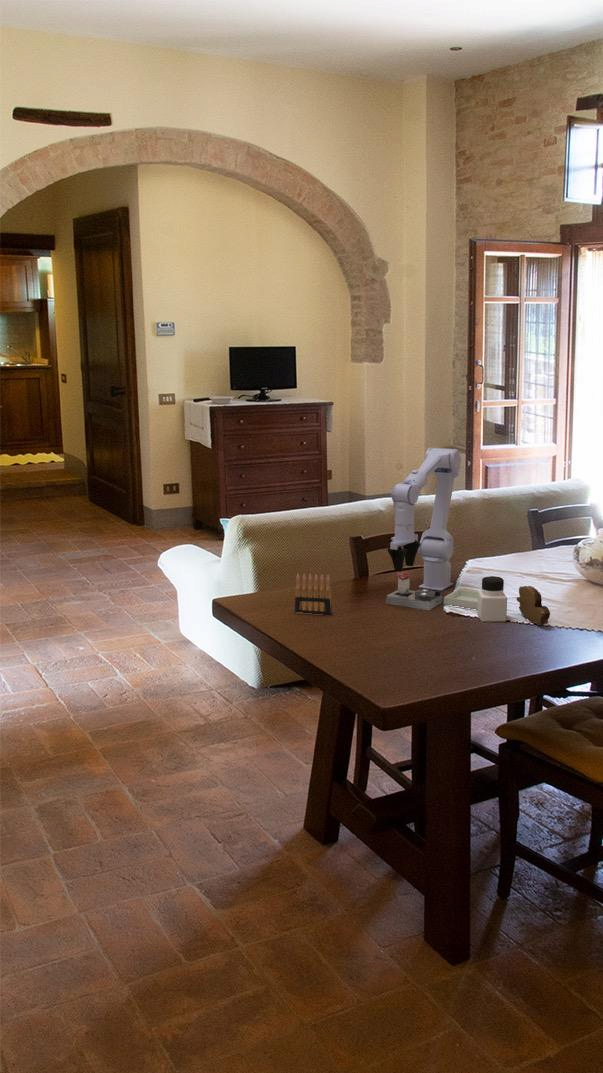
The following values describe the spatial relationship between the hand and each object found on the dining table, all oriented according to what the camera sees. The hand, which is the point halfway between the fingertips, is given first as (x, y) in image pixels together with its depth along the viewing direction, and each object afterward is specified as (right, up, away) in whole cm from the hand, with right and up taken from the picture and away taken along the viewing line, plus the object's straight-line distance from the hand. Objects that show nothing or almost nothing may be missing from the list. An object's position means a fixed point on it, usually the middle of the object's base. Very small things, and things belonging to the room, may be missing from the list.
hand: (404, 568), depth 295 cm
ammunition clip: (-27, -13, -9) cm, 32 cm away
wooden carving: (+34, -15, -18) cm, 41 cm away
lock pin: (0, -10, +2) cm, 10 cm away
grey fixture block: (+3, -11, 0) cm, 11 cm away
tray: (+19, -10, 0) cm, 22 cm away
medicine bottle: (+23, -14, -15) cm, 31 cm away
